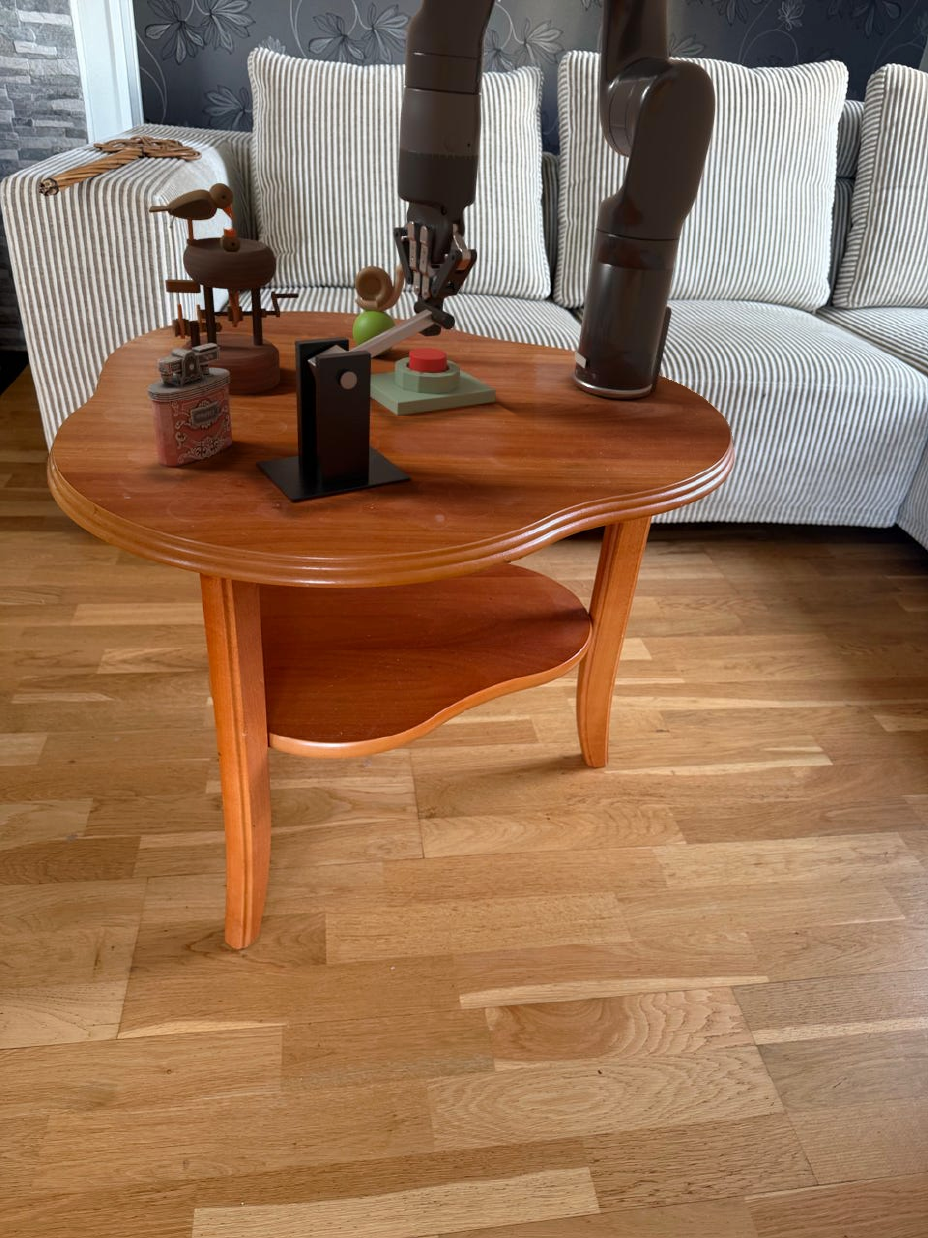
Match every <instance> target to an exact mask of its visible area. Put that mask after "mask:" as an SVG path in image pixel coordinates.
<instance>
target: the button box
mask: <svg viewBox="0 0 928 1238" xmlns="http://www.w3.org/2000/svg"><path fill="white" fill-rule="evenodd" d="M496 392H497V390H496V389H495V388H493V387H491V386H489V385H488V384H486V383H485V382H483V381H481V380H479V379H477V378H476V377H474V376H472V375H470V374H469V373H467V372H465V371H464V370H462V369H461V366H460V365H459V364H457V363H455V362H454V361H452V360H448V359H447V367H446V371H445V372H441V373H422V372H418V371H414V370H411V369H409V356H407V357H403V358H401V359H398V360H396V361H395V365H394V371H388V372H380V373H371V392H370V398H372V399H373V400H374V401H376V402H377V403H379V404H381V405H382V406H383V407H385V408H386V409H388V410H389V411H390V412H391V413H393V414H395V415H396V416H403V415H404V416H405V415H411V414H418V413H425V412H432V411H439V410H446V409H454V408H460V407H466V406H474V405H475V406H476V405H482V404H488V403H495V402H496Z"/></svg>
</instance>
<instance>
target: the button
mask: <svg viewBox="0 0 928 1238" xmlns="http://www.w3.org/2000/svg"><path fill="white" fill-rule="evenodd" d="M408 357H409V369H411V370H414V371H418V372H422V373H441V372H445V371H446V367H447V360H448V354H447V352H445V351H443V350H441V349H438V348H432V347H431V348H430V347H419V348H414V349H412V350H410V351H409V355H408Z"/></svg>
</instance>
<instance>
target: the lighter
mask: <svg viewBox="0 0 928 1238" xmlns="http://www.w3.org/2000/svg"><path fill="white" fill-rule="evenodd" d="M181 348H182V347H181ZM181 348H180V347H176V348H173V349H172V350H171V353H170V355H168V356H165V357H160V358H158V359H157V366H158V367H157V368H158V373H159V374H160V377H161V379H160V380H158V381H154V382H153V383H150V384H149V385H147V388H146V389H147V396H148V399H150V402H151V409H152V410H151V411H152V418H153V427H154V434H155V442H156V451H157V458H158V464H159V465H160V466H162V467H164V468H170V469H172V468H173V469H174V468H181V467H183V466H188V465H191V464H195V463H197V462H201V461H203V460H206V459H210V458H212V457H213V456H216V455H218V454H220V453H222V452H225V451H226V450H228V449H229V448H231V447H232V446H233V443H234V442H233V432H232V417H231V416H232V415H231V405H230V404H231V403H230V394H229V389H228V383H229V382H230V372H229V371H228V370H225V369H222V368H209V365H208V364H207V363H210V362H214V361H217V360H220V350H219V347H217V345H216V344H213V343H209V344H205V345H201V346H198V347H194V348H192V350H190V351H187V350H184V349H181Z"/></svg>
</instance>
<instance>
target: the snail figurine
mask: <svg viewBox="0 0 928 1238" xmlns="http://www.w3.org/2000/svg"><path fill="white" fill-rule="evenodd" d="M405 282H406V280H405V276H404V272H403V268H402V265H401V263H399V264H398V265H397V266H395V279H394V283H393V281H392V278H391V276H390V275H389V273H388V272H387V271H386V270H385V269H383V268H381V267H379V266H377V265H369V266H365V267H363V268H361V269H360V270H359V271H358V273H357V274H356V276H355V279H354V289H355V292H356V293H357V295H358V296H359V298H355V299H354V303H355V304H356V305H357V306H358V307H359V308H360V309H362V310H363V312H361V313H360V314H358V316H357V317H356V319H355V320H354V322H353V326H352V338H353V340H354V344H355V345H356V347H357V346H359V345H361V344H363V343H365V342H366V341H368V340H370V339H372V338H374V337H376V336H378V335H380V334H381V333H383V332H385V331H387V330H389V329H391V328H393V327H394V326H396V325H397V324H396V322H395V319H394V318H393V317H392V316H391V315H390V314H389V313H387V312H386V311H388V310H390V309H392V308H393V307H395V306H396V304H397V303H398V302H399V300H400V298H401V295H402V292H403V288H404V285H405ZM392 348H393V347H391V348H389V349H387V350H385V351H383V352H382V353H380V354H378V355H376V356H382V355H384V354H386V353H388V352H389V351H391V349H392ZM376 356H375V357H376Z"/></svg>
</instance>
